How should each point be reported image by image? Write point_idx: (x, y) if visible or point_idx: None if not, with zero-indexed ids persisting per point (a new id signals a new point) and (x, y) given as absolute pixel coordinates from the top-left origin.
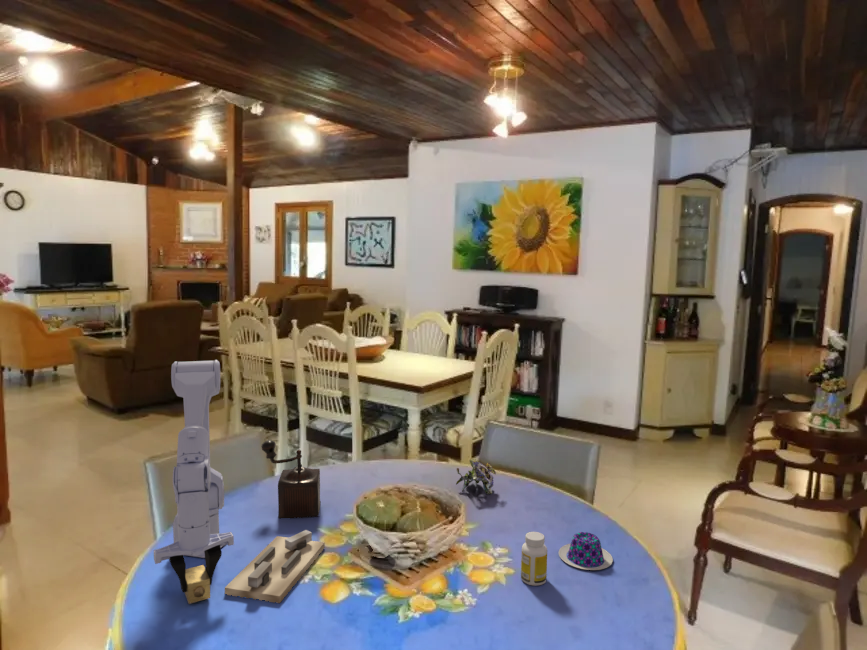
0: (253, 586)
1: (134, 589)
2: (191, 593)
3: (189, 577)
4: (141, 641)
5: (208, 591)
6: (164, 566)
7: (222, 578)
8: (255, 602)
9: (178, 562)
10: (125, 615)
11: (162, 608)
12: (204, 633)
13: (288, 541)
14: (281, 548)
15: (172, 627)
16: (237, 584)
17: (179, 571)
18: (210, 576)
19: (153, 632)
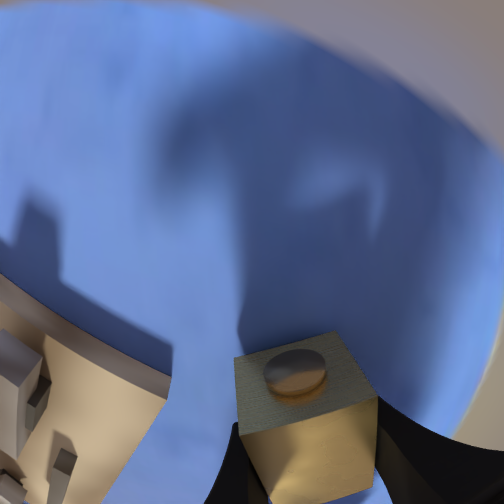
0: (17, 341)
1: (452, 422)
2: (337, 364)
3: (356, 451)
4: (477, 137)
5: (243, 378)
6: (368, 497)
7: (199, 460)
8: (32, 278)
9: (480, 501)
10: (499, 310)
11: (418, 332)
12: (248, 78)
13: (6, 498)
14: (46, 496)
15: (395, 182)
16: (111, 402)
17: (453, 456)
18: (237, 456)
19: (453, 176)
